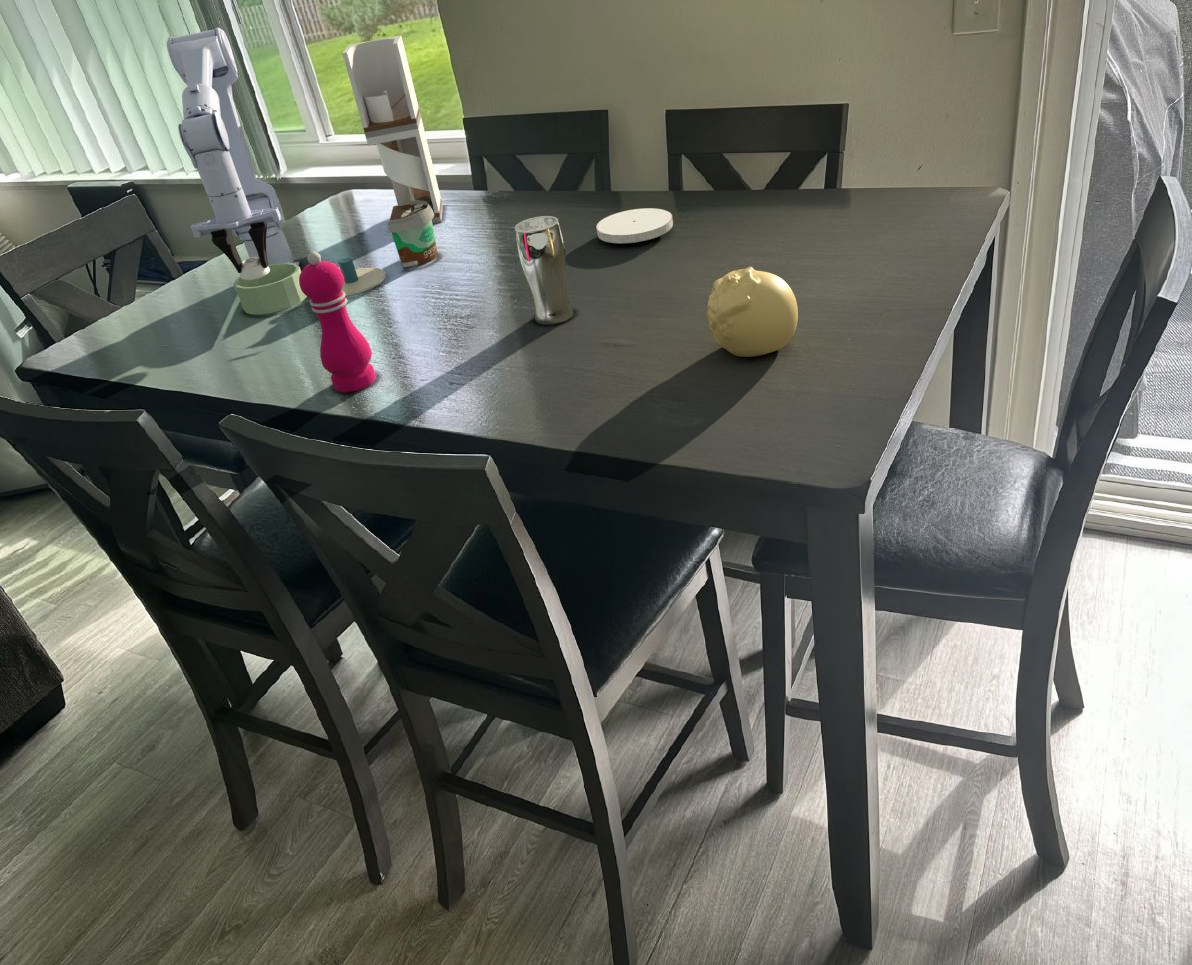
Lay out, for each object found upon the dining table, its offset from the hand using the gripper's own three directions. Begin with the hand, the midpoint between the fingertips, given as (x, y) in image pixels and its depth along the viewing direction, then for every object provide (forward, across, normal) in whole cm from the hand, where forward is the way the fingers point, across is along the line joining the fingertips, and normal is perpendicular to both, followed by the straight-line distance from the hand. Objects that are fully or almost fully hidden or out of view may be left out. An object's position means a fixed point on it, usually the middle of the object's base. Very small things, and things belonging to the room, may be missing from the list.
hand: (253, 268), depth 163 cm
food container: (+8, +29, +11) cm, 32 cm away
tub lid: (+8, +15, +5) cm, 17 cm away
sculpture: (+8, +74, -52) cm, 91 cm away
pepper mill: (+8, +18, -37) cm, 42 cm away
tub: (+8, +1, +4) cm, 9 cm away
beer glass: (+8, +49, -28) cm, 57 cm away
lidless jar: (+2, 0, 0) cm, 2 cm away
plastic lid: (+8, +68, +2) cm, 68 cm away
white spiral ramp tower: (+9, +27, +40) cm, 49 cm away
